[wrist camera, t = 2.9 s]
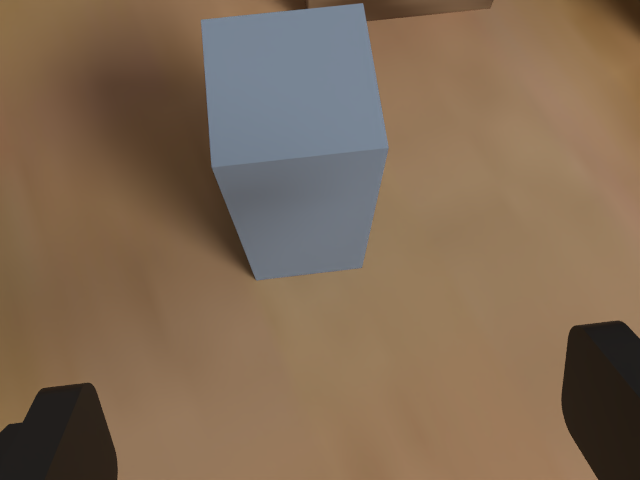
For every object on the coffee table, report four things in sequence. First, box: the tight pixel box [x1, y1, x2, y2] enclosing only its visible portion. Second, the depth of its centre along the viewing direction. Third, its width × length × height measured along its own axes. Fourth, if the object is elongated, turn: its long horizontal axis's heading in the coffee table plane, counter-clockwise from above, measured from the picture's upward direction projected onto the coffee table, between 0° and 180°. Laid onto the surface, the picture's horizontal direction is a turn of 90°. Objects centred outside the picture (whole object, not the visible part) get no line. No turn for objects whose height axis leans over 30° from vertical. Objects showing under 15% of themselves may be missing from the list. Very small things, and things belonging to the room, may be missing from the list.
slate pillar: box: [201, 3, 388, 280], centre depth 21 cm, size 4×4×11 cm
